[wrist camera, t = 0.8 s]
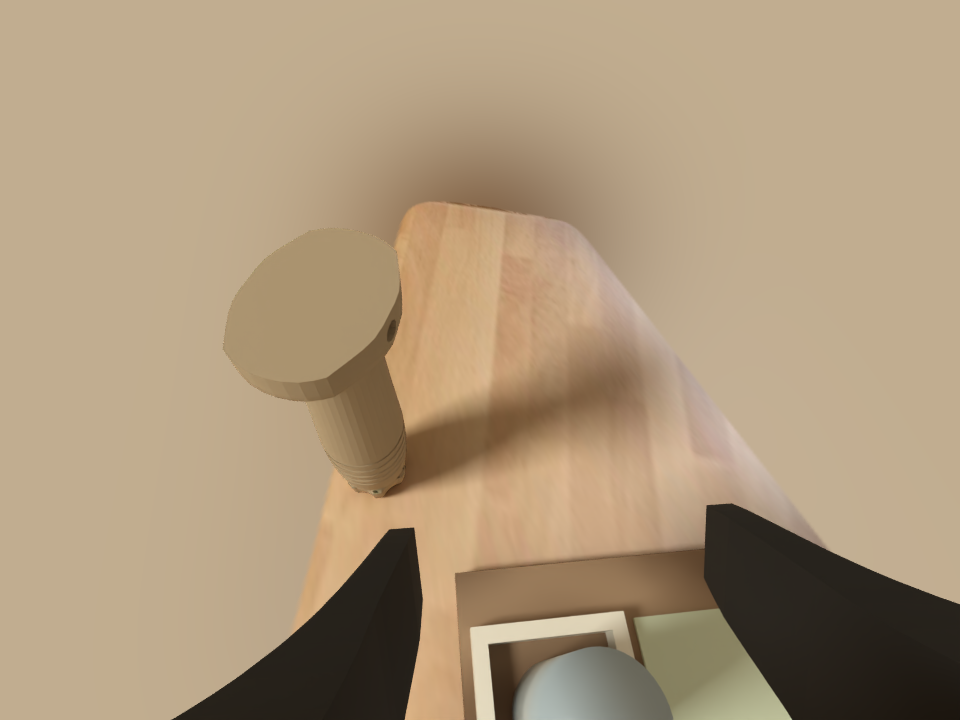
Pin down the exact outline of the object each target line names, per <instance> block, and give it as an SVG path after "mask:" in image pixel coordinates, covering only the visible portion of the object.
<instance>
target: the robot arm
mask: <svg viewBox="0 0 960 720" xmlns="http://www.w3.org/2000/svg"><path fill="white" fill-rule="evenodd" d="M704 579H705V581H706V583H707V586H708V588H709V590H710V592H711V594H712V596H713V598H714V600H715V602H716V604H717V606H718V607H719V609H720V611H721V613H722V615H723V617H724V619H725V620H726V622H727V623H728V625H729V626H730V628H731V629H732V631H733V632H734V634H735V635H736V637H737V638H738V640H739V641H740V643H741V644H742V646H743V647H744V649H745V650H746V652H747V653H748V655H749V656H750V658H751V659H752V661H753V662H754V664H755V665H756V667H757V668H758V670H759V671H760V673H761V674H762V675H763V677H764V678H765V680H766V681H767V683H768V684H769V686H770V687H771V689H772V690H773V692H774V693H775V695H776V696H777V698H778V699H779V701H780V702H781V704H782V705H783V706H784V708H785V709H786V711H787V712H788V714H789V716H790V717H791V719H792V720H960V604H957V603H954V602H952V601H949V600H946V599H943V598H940V597H937V596H935V595H932V594H929V593H927V592H924V591H921V590H919V589H916V588H914V587H911V586H909V585H906V584H903V583H901V582H898V581H896V580H893V579H891V578H888V577H886V576H884V575H881V574H879V573H876V572H874V571H872V570H870V569H867V568H865V567H863V566H860V565H858V564H856V563H854V562H852V561H850V560H847V559H845V558H843V557H841V556H839V555H837V554H834V553H832V552H830V551H828V550H826V549H824V548H822V547H820V546H818V545H816V544H814V543H812V542H810V541H808V540H806V539H804V538H802V537H800V536H798V535H796V534H794V533H792V532H790V531H788V530H786V529H784V528H782V527H780V526H778V525H776V524H774V523H772V522H770V521H768V520H766V519H764V518H762V517H760V516H758V515H756V514H754V513H752V512H750V511H748V510H746V509H743V508H741V507H739V506H736V505H734V504H719V505H707V509H706V533H705V557H704ZM422 602H423V597H422V589H421V580H420V572H419V564H418V555H417V547H416V539H415V531H414V528H402V529H390V530H389V531H388V532H387V533H386V534H385V535H384V536H383V538H382V539H381V540H380V541H379V542H378V544H377V545H376V546H375V547H374V549H373V550H372V551H371V552H370V554H369V555H368V556H367V557H366V559H365V560H364V561H363V562H362V563H361V565H360V566H359V567H358V568H357V569H356V570H355V572H354V573H353V574H352V575H351V576H350V577H349V579H348V580H347V581H346V582H345V583H344V584H343V586H342V587H341V588H340V589H339V590H338V591H337V592H336V593H335V594H334V595H333V596H332V597H331V598H330V599H329V600H328V601H327V602H326V604H325V605H324V606H323V607H322V608H321V609H320V610H319V611H318V612H317V613H316V614H315V615H314V616H313V617H312V618H310V619H309V620H308V621H307V622H306V623H305V624H304V625H303V626H302V627H301V628H299V629H298V630H297V631H296V632H295V633H294V634H293V635H291V636H290V637H289V638H288V639H287V640H286V641H284V642H283V643H282V644H281V645H280V646H278V647H277V648H276V649H275V650H273V651H272V652H271V653H269V654H268V655H267V656H265V657H264V658H263V659H261V660H260V661H259V662H257V663H256V664H255V665H253V666H252V667H251V668H250V669H248V670H247V671H246V672H244V673H243V674H242V675H240V676H239V677H237V678H236V679H235V680H233V681H232V682H230V683H229V684H227V685H226V686H224V687H223V688H221V689H220V690H219V691H217V692H215V693H214V694H212V695H211V696H210V697H208V698H206V699H205V700H203V701H202V702H200V703H198V704H197V705H195V706H194V707H192V708H190V709H189V710H187V711H186V712H184V713H182V714H181V715H179V716H177V717H176V718H174V719H172V720H405V715H406V709H407V704H408V699H409V694H410V689H411V684H412V678H413V673H414V668H415V663H416V657H417V652H418V646H419V641H420V630H421V617H422Z"/></svg>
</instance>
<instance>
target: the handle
mask: <svg viewBox="0 0 960 720" xmlns="http://www.w3.org/2000/svg"><path fill="white" fill-rule="evenodd" d="M401 315H402V292H401V281H400V272H399V265H398V257H397V251H396V250H395V249H393V248H392V247H391V246H390V245H389V244H388V243H386V242H385V241H383V240H382V239H379V238H377V237H375V236H373V235H369V234H366V233H363V232H360V231H355V230H349V229H339V228H328V229H318V230H312V231H308V232H307V233H305V234H303V235H301V236H300V237H298V238H296V239H294V240H293V241H291V242H289V243H288V244H286V245H285V246H283V247H281V248H279V249H278V250H276V251H275V252H273V253H272V254H271V255H269V256H268V257H267V258H266V259H264V260H263V261H262V263H261V264H260V265H259V266H258V267H257V268H256V269H255V270H254V272H253V273H252V274H251V276H250V277H249V278H248V279H247V281H246V282H245V283H244V285H243V286H242V287H241V288H240V290H239V291H238V293H237V294H236V296H235V298H234V299H233V301H232V304H231V307H230V309H229V312H228V317H227V324H226V329H225V336H224V343H223V350H224V351H225V353H226V355H227V356H228V358H229V359H230V360H231V362H232V363H233V365H234V366H235V368H236V369H237V371H238V372H239V373H240V374H241V375H242V376H243V378H244V379H245V380H246V381H247V382H248V383H249V384H250V385H252V386H254V387H255V388H257V389H259V390H261V391H262V392H264V393H267V394H269V395H272V396H275V397H277V398H282V399H287V400H292V401H305V402H306V403H307V406H308V408H309V412H310V414H311V417H312V420H313V422H314V425H315V428H316V431H317V433H318V436H319V438H320V441H321V444H322V446H323V448H324V450H325V452H326V453H327V455H328V457H329V459H330V461H331V463H332V464H333V465H334V467H335V468H336V469H337V470H338V472H339V473H340V474H341V475H342V476H343V477H344V478H345V479H346V480H347V481H348V483H349V485H350V486H351V487H352V488H353V489H354V490H355V491H356V492H358V493H360V492H366V493H369V494H372V495H373V496H374V497H375V498H380V497H383V496H384V495H385V493H386V492H387V491H388V490H389V489H390V488H391V487H392V486H394V485H396V484H399V483H401V482H402V481H403V479H404V476H405V470H406V466H405V465H404V464H405V458H406V432H405V425H404V420H403V414H402V411H401V408H400V404H399V401H398V398H397V395H396V392H395V389H394V386H393V383H392V380H391V376H390V373H389V370H388V366H387V363H386V360H385V355H386V354H387V352H388V351H389V349H390V348H391V346H392V345H393V342H394V339H395V336H396V334H397V330H398V326H399V323H400V319H401Z"/></svg>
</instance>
